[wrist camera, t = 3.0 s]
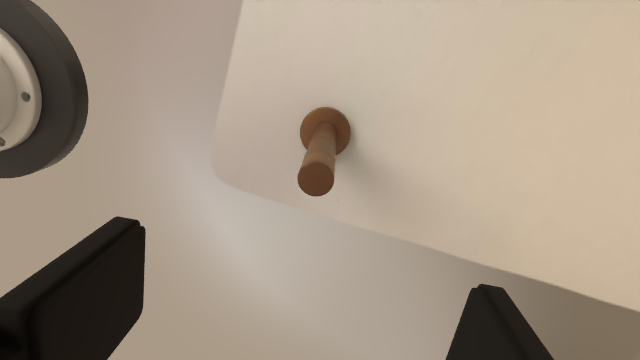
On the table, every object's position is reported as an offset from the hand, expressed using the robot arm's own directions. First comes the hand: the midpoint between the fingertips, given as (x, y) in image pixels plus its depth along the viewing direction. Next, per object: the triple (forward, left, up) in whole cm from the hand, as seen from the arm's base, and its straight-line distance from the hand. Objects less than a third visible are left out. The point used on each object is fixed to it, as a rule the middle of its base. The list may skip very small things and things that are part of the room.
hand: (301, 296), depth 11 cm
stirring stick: (0, 0, -24) cm, 24 cm away
